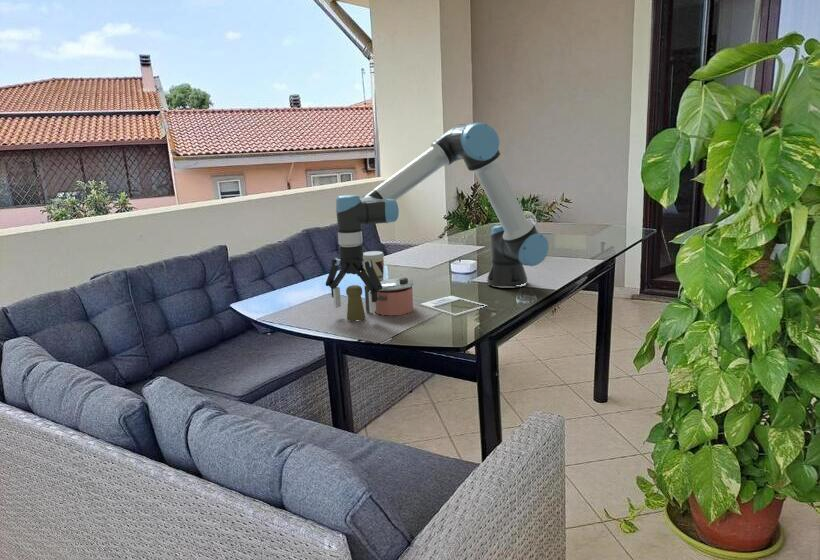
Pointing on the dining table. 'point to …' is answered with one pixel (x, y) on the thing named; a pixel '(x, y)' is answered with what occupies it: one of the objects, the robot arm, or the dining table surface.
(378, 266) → the coffee cup
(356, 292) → the cork
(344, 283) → the dining table surface
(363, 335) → the dining table surface
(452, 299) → the photo frame
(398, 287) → the lid
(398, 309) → the pot
